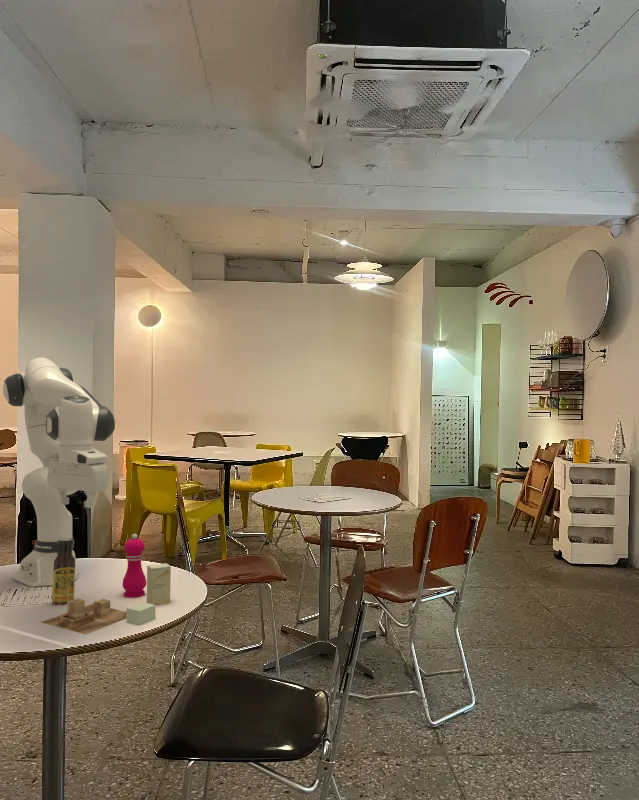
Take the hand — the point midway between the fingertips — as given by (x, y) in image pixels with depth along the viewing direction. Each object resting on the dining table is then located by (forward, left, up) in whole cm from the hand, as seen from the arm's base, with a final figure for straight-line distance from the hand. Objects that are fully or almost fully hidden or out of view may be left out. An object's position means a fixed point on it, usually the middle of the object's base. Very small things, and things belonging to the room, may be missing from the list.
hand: (76, 505), depth 180 cm
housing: (+14, +11, -33) cm, 37 cm away
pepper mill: (-5, +26, -33) cm, 43 cm away
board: (0, +4, -33) cm, 33 cm away
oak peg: (0, 0, -32) cm, 32 cm away
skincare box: (+7, +24, -33) cm, 42 cm away
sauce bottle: (-18, +10, -33) cm, 39 cm away
